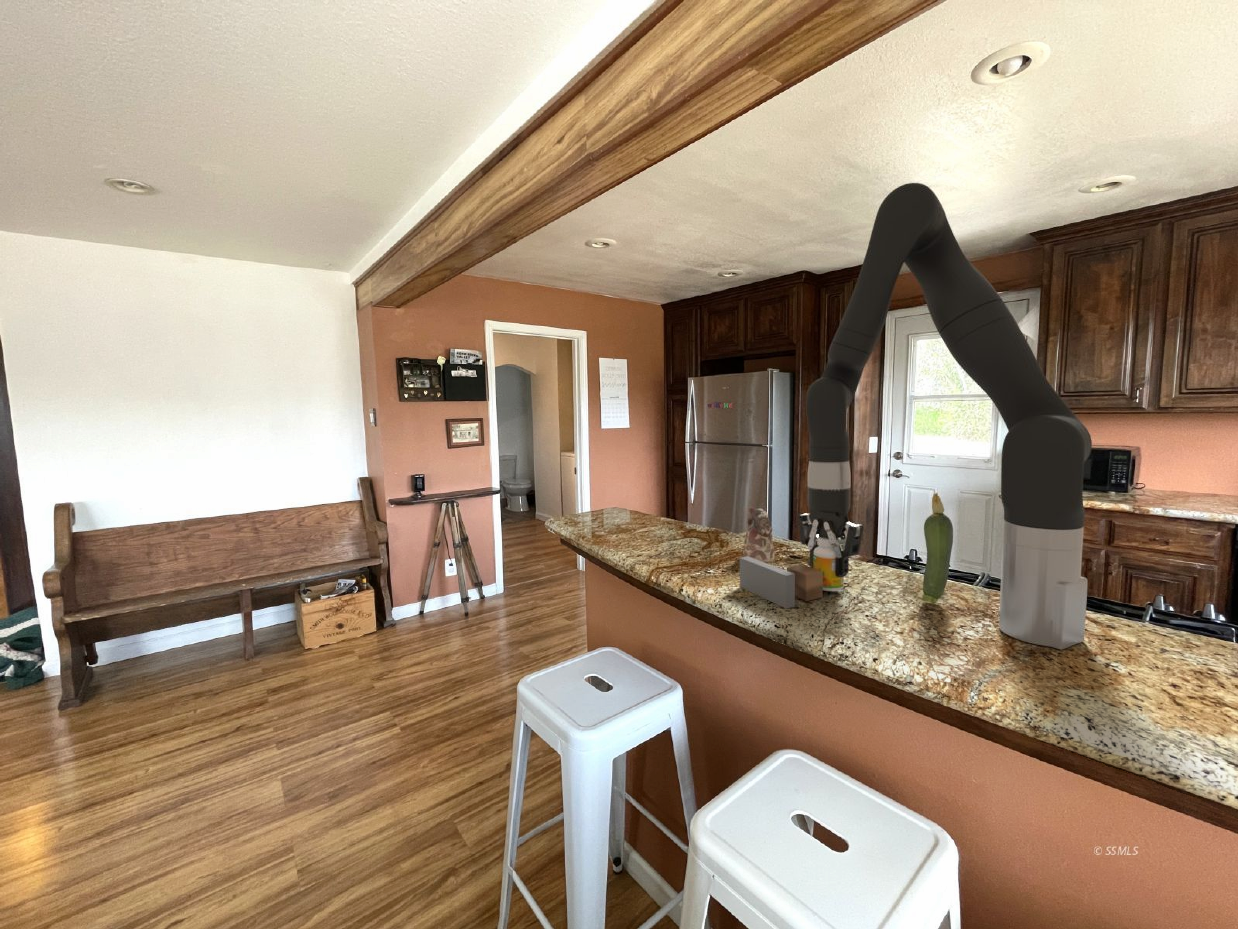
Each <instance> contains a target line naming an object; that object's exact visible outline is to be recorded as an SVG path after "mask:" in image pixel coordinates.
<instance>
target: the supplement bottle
mask: <svg viewBox="0 0 1238 929" xmlns="http://www.w3.org/2000/svg"><path fill="white" fill-rule="evenodd" d="M837 540H840V538H838V539H837ZM817 544H818V545H819V547H816V548H815V549H814V568H815V569H818V570H821V571H823V591H826V592H838V591H841V590H843V589H844V586H845V585H844V582H845V580H844V578H845V577H837V576H836V575H835V567H836V557H837V556H836V553H835V550H834V547H833V546H831V544H830V541H829V539H827V538H826V537H819V536H818V537H817ZM841 550H842V549H841Z"/></svg>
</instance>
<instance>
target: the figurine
mask: <svg viewBox="0 0 1238 929" xmlns="http://www.w3.org/2000/svg"><path fill="white" fill-rule="evenodd" d="M748 510H749V513H750V515H749V517H748V518H747V527H748V529H747V530H746V534H745V538H744V542H743V552H742V553H743V557H747V556H749V557H751V558H754V559H757V560H759V561H762V562H765V563H770V562H773V561H774V560H775V557H776V553H775V548H774V542H773V533H772V531H774V528H773V527H772V525H771V523H770V519H769V515H768V512H766V510H765V509H763V508H756V509H755V508H754V507H753V506H750V507H749V508H748Z"/></svg>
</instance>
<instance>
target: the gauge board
mask: <svg viewBox="0 0 1238 929" xmlns="http://www.w3.org/2000/svg"><path fill="white" fill-rule="evenodd" d="M739 587H740V588H742V589H744V590H746V591H749V592H750V593H752V594H755V595H756V596H759V597H761V598H763V599H764V600H767V601H769V602H772V603H774V604H775V605H778V606H780V607H782V608H784V609H791V608H793V607H794V608H795V607H796V606H795V605H796V601H795V600H796V597H795V574H794V573H791V572H788V571H787V569H783V568H780V567H778V566H775V565H772V564H770V563H768V562H762V561H759V560H757V559H754V558H751V557H749V556H747V557H744V556H742V557H741V556H740V557H739Z"/></svg>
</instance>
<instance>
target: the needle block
mask: <svg viewBox="0 0 1238 929" xmlns="http://www.w3.org/2000/svg"><path fill="white" fill-rule="evenodd" d="M786 571H788V572H791V573H794V574H795V598H797V599H801V600H803V601H805V602H808V601H813V600H816V599H822V598H823V595H824V594H823V592H824V590H823V571H821V570H818V569H815V568H812V567H811V566H809V565H806V564H802V563H801V564H796V565H792V566H786Z"/></svg>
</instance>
